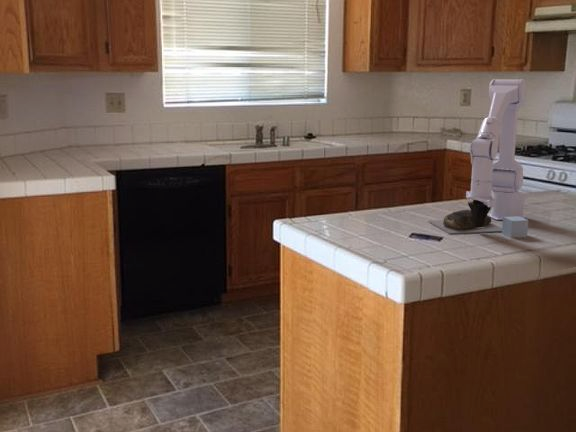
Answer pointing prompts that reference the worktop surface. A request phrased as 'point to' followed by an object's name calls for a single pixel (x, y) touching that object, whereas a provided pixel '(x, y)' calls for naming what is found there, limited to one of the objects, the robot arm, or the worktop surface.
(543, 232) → the worktop surface
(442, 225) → the letter board
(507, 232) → the gray cube
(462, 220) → the rock
